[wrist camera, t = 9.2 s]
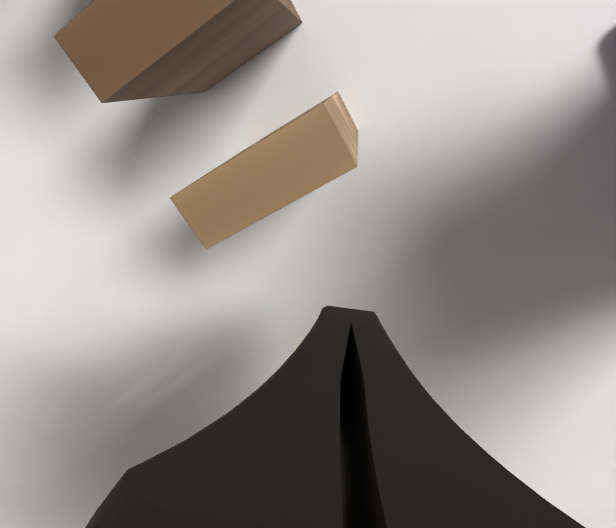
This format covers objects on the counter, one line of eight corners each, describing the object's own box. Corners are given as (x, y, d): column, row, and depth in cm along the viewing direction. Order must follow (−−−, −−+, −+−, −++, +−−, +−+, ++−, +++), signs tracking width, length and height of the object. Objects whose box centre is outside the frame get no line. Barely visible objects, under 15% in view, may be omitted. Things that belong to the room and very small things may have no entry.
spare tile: (357, 130, 16) (357, 166, 9) (262, 185, 17) (205, 249, 11) (338, 91, 15) (323, 102, 9) (241, 151, 17) (169, 197, 10)
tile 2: (302, 22, 14) (258, -19, 8) (204, 91, 16) (101, 103, 9) (278, -24, 14) (212, -106, 8) (179, 52, 15) (54, 36, 9)
